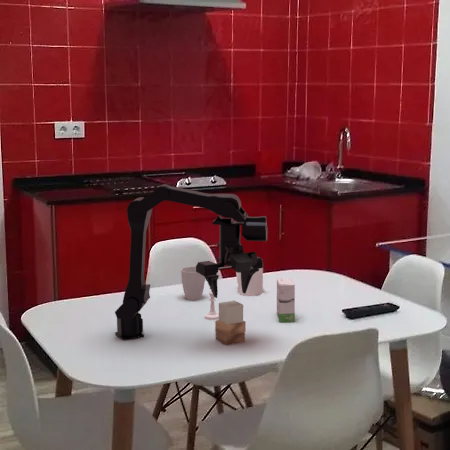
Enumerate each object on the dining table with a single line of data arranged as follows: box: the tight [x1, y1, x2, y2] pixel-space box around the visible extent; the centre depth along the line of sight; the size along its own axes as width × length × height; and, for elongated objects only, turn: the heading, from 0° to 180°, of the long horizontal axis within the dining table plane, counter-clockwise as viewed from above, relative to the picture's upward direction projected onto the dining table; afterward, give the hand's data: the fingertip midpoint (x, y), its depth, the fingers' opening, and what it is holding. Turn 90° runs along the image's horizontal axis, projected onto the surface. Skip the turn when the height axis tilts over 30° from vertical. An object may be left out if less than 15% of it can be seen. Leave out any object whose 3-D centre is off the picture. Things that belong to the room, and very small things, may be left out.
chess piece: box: [204, 290, 219, 321], centre depth 234 cm, size 5×5×10 cm
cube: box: [218, 300, 244, 325], centre depth 212 cm, size 5×5×5 cm
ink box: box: [276, 277, 296, 323], centre depth 233 cm, size 9×5×12 cm, turn 2°
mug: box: [235, 267, 264, 297], centre depth 263 cm, size 12×9×10 cm
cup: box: [180, 266, 206, 301], centre depth 255 cm, size 8×8×10 cm
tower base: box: [215, 331, 246, 346], centre depth 213 cm, size 6×6×3 cm
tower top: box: [214, 319, 247, 336], centre depth 213 cm, size 6×6×3 cm
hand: (230, 295), depth 212 cm, fingers open, 9 cm apart
